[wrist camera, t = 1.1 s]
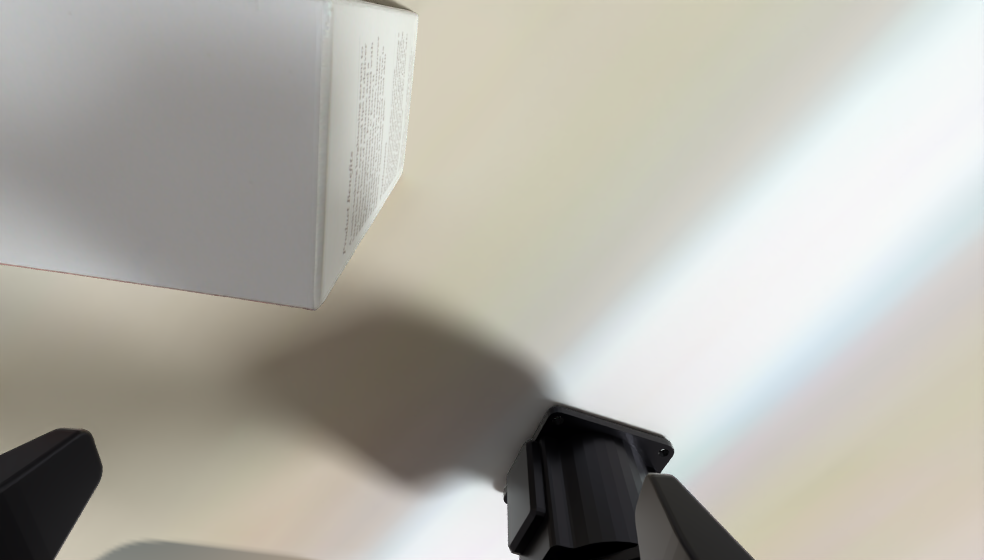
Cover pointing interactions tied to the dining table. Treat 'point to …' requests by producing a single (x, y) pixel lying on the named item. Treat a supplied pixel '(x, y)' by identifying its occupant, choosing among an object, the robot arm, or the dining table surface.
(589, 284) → the dining table surface
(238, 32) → the small box
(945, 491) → the dining table surface
